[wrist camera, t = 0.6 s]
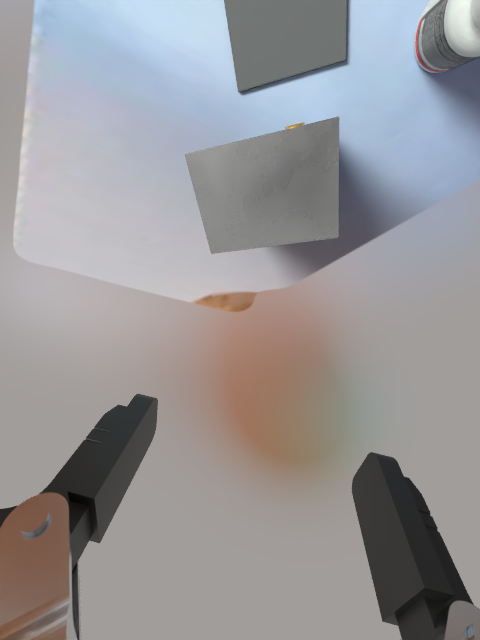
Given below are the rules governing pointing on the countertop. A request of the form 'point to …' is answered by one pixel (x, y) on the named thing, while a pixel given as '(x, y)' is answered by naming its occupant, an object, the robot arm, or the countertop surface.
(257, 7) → the pad
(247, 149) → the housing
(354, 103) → the countertop surface
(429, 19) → the pill bottle
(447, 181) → the countertop surface
